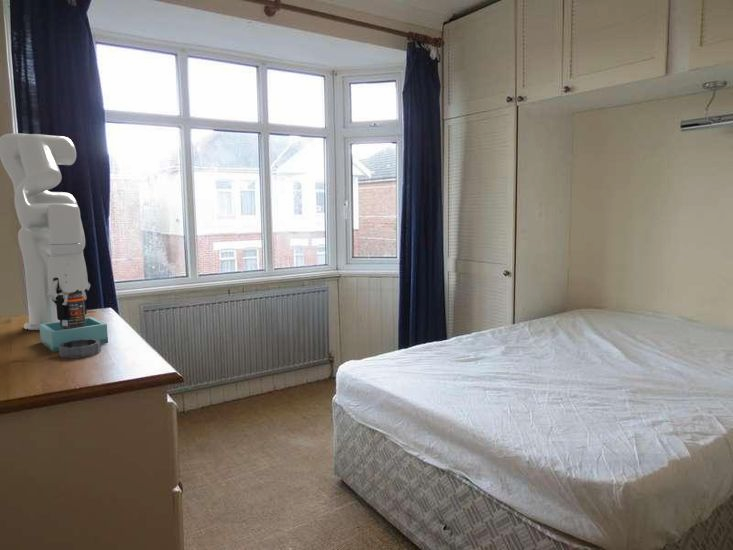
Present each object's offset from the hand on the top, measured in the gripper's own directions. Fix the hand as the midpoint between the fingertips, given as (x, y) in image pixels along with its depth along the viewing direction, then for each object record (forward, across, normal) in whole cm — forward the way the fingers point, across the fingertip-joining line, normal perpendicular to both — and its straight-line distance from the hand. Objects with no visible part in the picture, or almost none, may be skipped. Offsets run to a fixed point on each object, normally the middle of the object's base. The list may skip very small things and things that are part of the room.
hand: (72, 316), depth 137 cm
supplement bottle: (+3, 0, 0) cm, 3 cm away
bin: (+7, 0, 0) cm, 7 cm away
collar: (+7, +10, +9) cm, 15 cm away
